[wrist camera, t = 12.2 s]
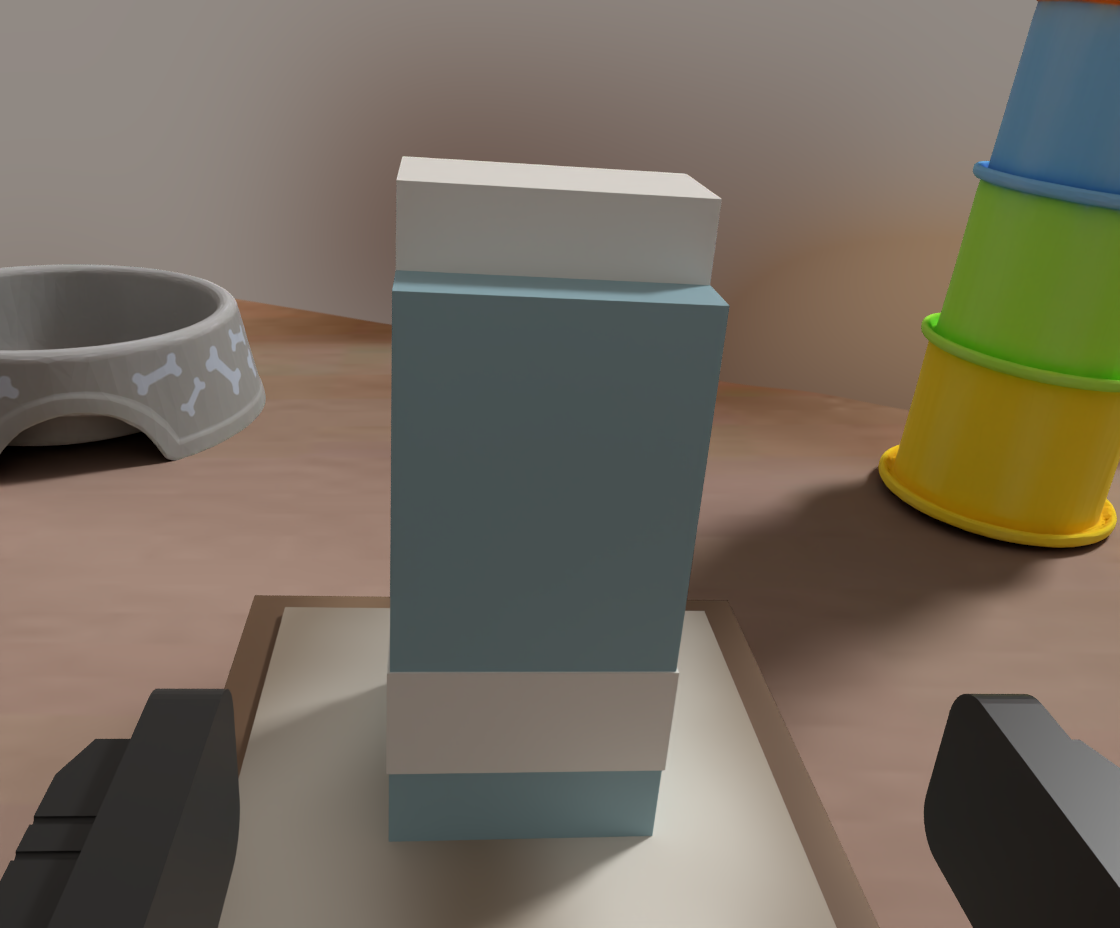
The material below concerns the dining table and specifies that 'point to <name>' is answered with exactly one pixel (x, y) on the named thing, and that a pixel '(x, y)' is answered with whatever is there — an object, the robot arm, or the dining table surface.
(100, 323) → the dog bowl
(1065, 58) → the stacking cups
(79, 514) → the dining table surface
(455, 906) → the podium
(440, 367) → the carton
